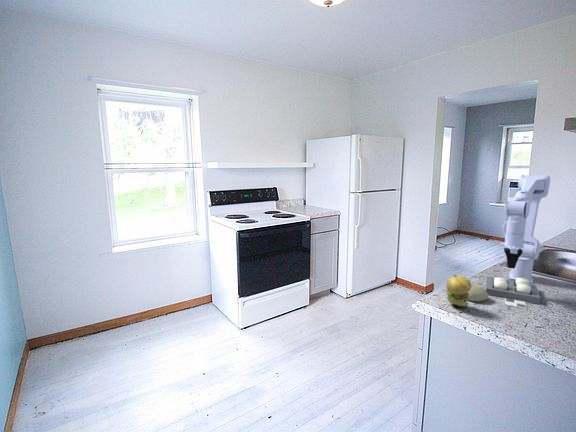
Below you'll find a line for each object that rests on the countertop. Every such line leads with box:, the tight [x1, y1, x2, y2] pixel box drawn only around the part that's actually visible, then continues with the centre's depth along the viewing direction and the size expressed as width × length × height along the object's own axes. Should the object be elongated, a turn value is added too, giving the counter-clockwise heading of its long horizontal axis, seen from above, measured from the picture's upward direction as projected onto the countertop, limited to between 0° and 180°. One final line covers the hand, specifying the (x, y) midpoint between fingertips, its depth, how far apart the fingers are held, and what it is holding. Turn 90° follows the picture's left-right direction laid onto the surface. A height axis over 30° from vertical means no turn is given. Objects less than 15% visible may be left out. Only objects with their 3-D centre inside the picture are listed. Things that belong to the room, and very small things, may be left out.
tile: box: [504, 298, 528, 310], centre depth 110 cm, size 6×6×1 cm
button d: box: [516, 283, 531, 295], centre depth 115 cm, size 4×4×3 cm
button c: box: [515, 278, 531, 286], centre depth 120 cm, size 4×4×3 cm
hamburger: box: [446, 274, 472, 308], centre depth 107 cm, size 8×7×12 cm
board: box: [485, 276, 541, 305], centre depth 120 cm, size 15×16×2 cm
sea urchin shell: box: [467, 283, 489, 303], centre depth 115 cm, size 9×8×8 cm
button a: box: [494, 276, 508, 282], centre depth 124 cm, size 4×4×3 cm
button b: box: [494, 280, 508, 291], centre depth 118 cm, size 4×4×3 cm
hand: (511, 267), depth 119 cm, fingers closed
